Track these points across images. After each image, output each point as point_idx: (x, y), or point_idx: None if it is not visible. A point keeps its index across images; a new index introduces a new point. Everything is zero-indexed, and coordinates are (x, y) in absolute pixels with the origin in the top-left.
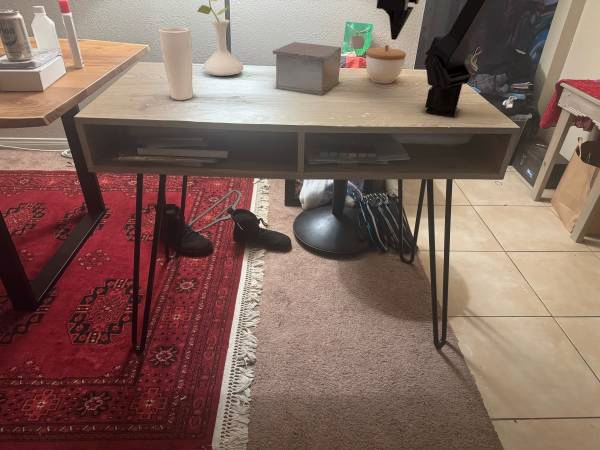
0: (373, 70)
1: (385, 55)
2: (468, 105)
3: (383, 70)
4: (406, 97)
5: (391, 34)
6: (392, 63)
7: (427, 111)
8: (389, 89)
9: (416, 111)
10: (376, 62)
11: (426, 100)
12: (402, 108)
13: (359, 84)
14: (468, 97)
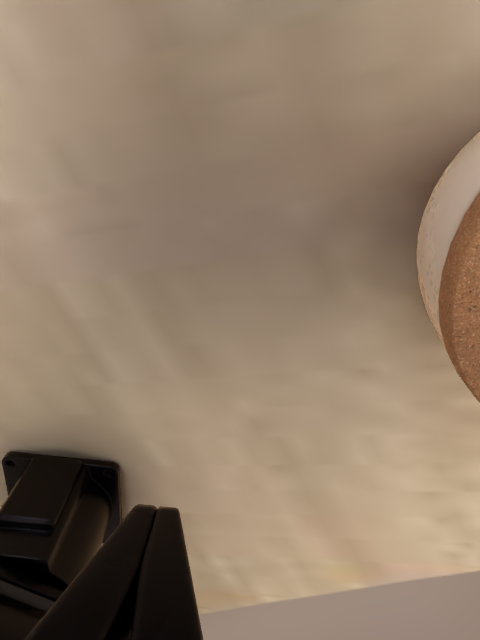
0: (446, 171)
1: (456, 305)
2: (198, 565)
3: (418, 257)
4: (194, 373)
5: (101, 550)
6: (441, 337)
7: (3, 460)
8: (312, 281)
9: (8, 420)
10: (454, 207)
11: (21, 477)
12: (11, 369)
13: (369, 66)
14: (308, 570)
